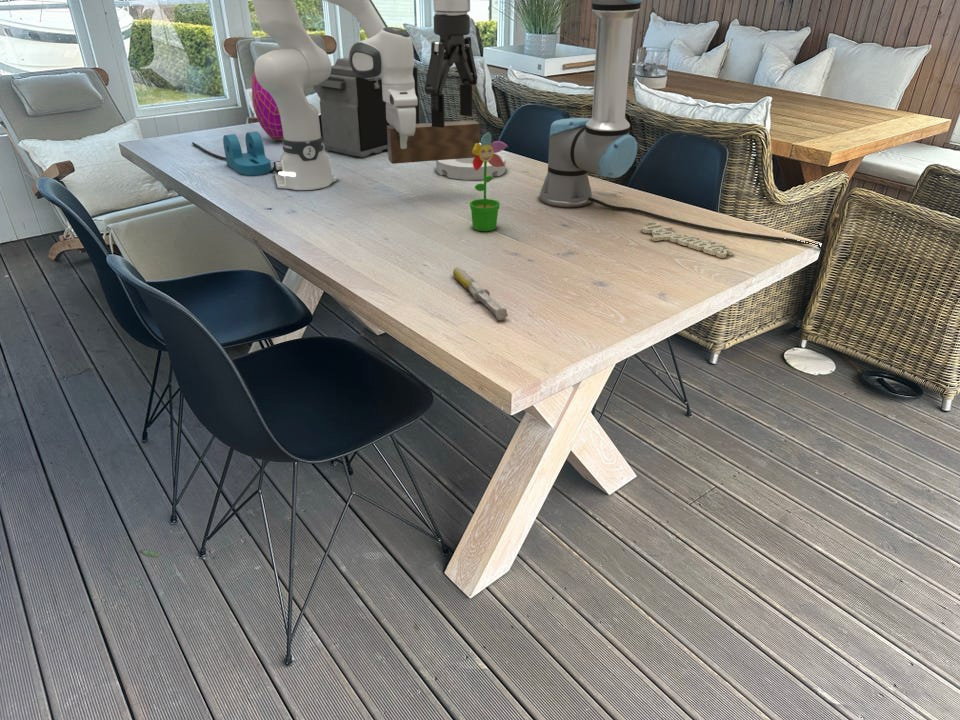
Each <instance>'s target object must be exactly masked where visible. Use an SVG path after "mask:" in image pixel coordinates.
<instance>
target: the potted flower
mask: <svg viewBox="0 0 960 720" xmlns="http://www.w3.org/2000/svg"><path fill="white" fill-rule="evenodd" d="M508 147H509V146H508V144H507V143H505V142H504V141H501V140H496V141H493V142H492V134H491V132H490V131H488V132H486V133H484V134H483V135H482V136H481V138H480V143H479V144H478V143H476V144H475V145H474V148H473V150H472V153H473V154H474V155H477V156H476V157H475V158H474V159H473V167H474V169H475V170H476V171H477V170H479V169H480V167H481V166H482V164H483V162H484V179H483V183H478V184H476V185H475V186H474V189H475V190H476V191H478V192H483V198H478V199H473V200H471V201H470V202H469V207H470V208H469V209H470V212H471V222H472V228H473V229H474V230H475V231H478V232H492V231H494V230H495V229H496V228H497V224H498V215H499V210H500V206H501V204H500V202H499V201H498V200H495V199H492V198H491V199H490V198H487V183H489V182H491V181H492V179H493V178H494V176H488V177H486V174H487V162H489V163H490V164H491V165H492V166H495V167H502V166H505V167H506V164H504V163H503V161H502V159H501V158H500V157H499V156H498V155H496V154H494V153H500V152H502V151H504V150H505V149H506V148H508Z"/></svg>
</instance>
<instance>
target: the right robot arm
mask: <svg viewBox="0 0 960 720" xmlns="http://www.w3.org/2000/svg"><path fill="white" fill-rule="evenodd" d="M642 2H644V0H592V2H591V12H593V13H594V15H595V16H596V18H597V25H596V39H595V41H596V43H595V57H594V58H595V60H594V74H593V75H594V76H593V91H592V93H593V95H592V111H591V118H589V117H572V118H571V117H570V118H562V119H556V120H554V121H553V122H552V123H551V125H550V129H549V130H550V131H549V134H548V156H547V158H548V159H547V173H546V176H545V178H544V181H543V184H542V187H541V189H540V192H539V200H540V202H542V203H543V204H546V205H549V206H553V207H558V208H559V207H560V208H580V207H584V206H588V205H589V204H591V203H596V204H598V205H600V206H602V207H605V208H608V209H612V210H617V211H626V212H633V213H639V214H642V215H646V216H649V217H653V218H656V219H660V220H663V221H667V222H671V223H675V224H678V225H681V226H682V225H683V226H687V227H690V228H691V227H692V228H696V229H701V230H704V231H705V230H706V231H710V232H715V233H716V232H717V233H722V234H728V235H735V236H741V237H747V238H756V239H762V240H769V241H778V242H779V241H780V242H787V243H793V244H799V245H810V246H815V245H818V246H815V247H817V248H818V249H819V250H820V251H821V252H822V253H827V250H826V248H825V247H824V246H823V245H822V244H821V247H820V245H819V244H820V243H819V242H817V241H813V240H811V241H812V242H815V243H818V244H815V243H812V242H809V241H810V240H804V241H805V243H804V242H801V241H803V240H802V239H799V240H800V241H797V240H798V239H796V240H795V238H788V237H781V236H772V235H765V234H757V233H749V232H742V231H737V230H731V229H730V230H729V229H723V228H718V227H712V226H707V225H702V224H698V223H692V222H688V221H683V220H679V219H676V218H671V217H667V216H665V215H660V214H657V213H653V212H651V211H650V212H649V211H646V210H643V209H639V208H633V207H626V206H617V205H612V204H608V203H606V202H604V201H602V200H599V199H596V198H594V197H593V193H592V188H591V184H590V179H589V173H592V174H595V175H598V176H600V177H603V178H611V179H617V178H620V177H622V176H623V175H625V174H626V173H627V172H628V171H629V169H630V168H631V167H632V166H633V164H634V162H635V160H636V157H637V154H638V141H637V140H636V138H635V137H634V136H632V135H631V134H630V130H631V123H630V122H629V121H628V120H627V118H626V108H627V97H628V85H629V71H630V61H631V48H632V35H633V24H634V23H633V22H634V17H635V16H636V14H637V13H639V11H640V10H641V5H642ZM432 3H433V12H436V14H434V15H433V33H434V34H435V36H436V35H437V36H439V41H431V44H430V58H429V63H428V68H427V74H426V79H425V83H424V92H425V94H426V95H430V107H431V108H430V114H431V116H430V117H431V123H432V126H433V127H442V128H443V127H445V125H444V122H445V94H443V90H444V87H445V84H446V81H447V78H448V74H449V72H450V68H451V67H453V65H454V66H455V69H456V71H457V74H458V76H459V78H460V81H461V84H460V85H459V116H464V117H472V116H473V85H474V86H476V85H478V72H477V67H476V63H475V57H474V53H473V48H472V37H471V36H468V35H469V34H470V33H471V16H470V15H469V14H468V13H469V12H470V11H471V0H433V2H432ZM784 238H786V239H784ZM806 242H808V243H806ZM809 243H812V244H815V245H812V244H809Z"/></svg>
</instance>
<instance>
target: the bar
mask: <svg viewBox="0 0 960 720" xmlns="http://www.w3.org/2000/svg"><path fill="white" fill-rule="evenodd" d="M480 124H481V123H479V122H478V121H476V120H474V119H473V120H459V121H444V125H445V127H443V128H442V127H433V126H432V122H422V123H421V124H416V128H415V134H414V136H408V139H407V148H406V149H401V148H400V146H399V145H400V144H399V141H400V136H399V133H398V132H397V131H396V129H395V128H394V127H393V126H392V125H387V141H388V150H387V157H388V161H389V162H390V164H392V165H393V164H405V163H406V164H408V163H420V162H421V163H422V162H434V161H435V162H436V160H449V159H462V158H475V157H476V156H477V155H474V154H473V153H472V150H473V148H474V145H475V144H476V143H478V144H480V134H481V133H480V132H481V131H480V129H481V127H480Z"/></svg>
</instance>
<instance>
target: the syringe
mask: <svg viewBox="0 0 960 720" xmlns="http://www.w3.org/2000/svg"><path fill="white" fill-rule="evenodd" d="M452 274H453V277H454V279H455V280H457V281H458V282H459V283H460V285H462V287H464V289H466V290H467V291H468V293H470V295H471V296H472V298H473V300H474V302H477V303H478V302H480V303H482V304H483V305H484V306H485V307H486V308H487V309H488V310H489V311H490V312H491V313H492V314H493V315H494V316H495V317H496V320H497V321H503V320H504V319H506V318H507V317H509V314H508V310H507V308H506V307H502V306H501V305H500V303H498V302H497V301H496V300H494V299H493V298H492V297H491V296H490V295H491V293H490V290H488V289H486V288H483V287H482V286H481V285H480V284H479V283H478V282H477V281H476V280H474V278H473V277H471V275H469V274H468V273H467V272H466V270H465V269H464V268H463V267H462V266H456V267H454V268H453V271H452Z"/></svg>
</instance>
